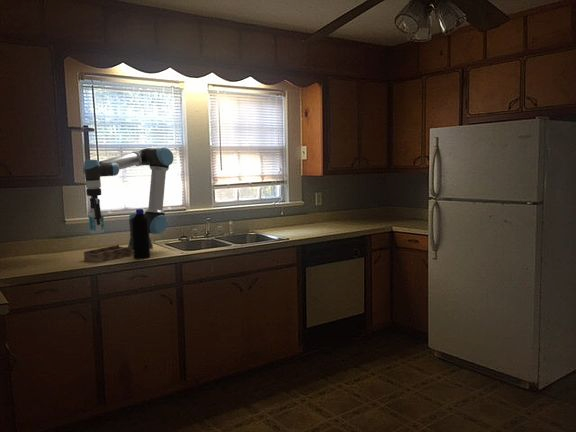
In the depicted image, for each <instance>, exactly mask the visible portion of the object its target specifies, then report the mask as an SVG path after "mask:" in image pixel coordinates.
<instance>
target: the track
mask: <svg viewBox="0 0 576 432" xmlns="http://www.w3.org/2000/svg"><path fill="white" fill-rule="evenodd" d="M130 256H134V250H133V246H130V247H128V246H126V247H125V246H120V245H119V244H116V245H115V244H114V245H110V246H104V247H100V248H96V249H90V250H86V251H83V259H84V261H88V262H96V263H103V261H104V262H108V261H111V260H116V259H121V258H124V257H130Z"/></svg>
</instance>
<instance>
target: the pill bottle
mask: <svg viewBox="0 0 576 432" xmlns="http://www.w3.org/2000/svg"><path fill="white" fill-rule="evenodd" d="M91 211H92V212H91ZM94 218H95V212H94V208H92V209H91V208H90V213H88V222H89V231H90V234H92V235H93V234H96V235H97V234H103V233H104V232H105V221H104V219H105V218H104V213H103V212H101V218H100V219H101V231H96V225H95V219H94Z"/></svg>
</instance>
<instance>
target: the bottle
mask: <svg viewBox="0 0 576 432" xmlns="http://www.w3.org/2000/svg"><path fill="white" fill-rule="evenodd" d="M144 212H145V211H144V209H143V208H137V209H135V213H137V214H136V216H135V217H134V218H133V219H132V228H133V247H134V250H133V258H134V259H136V260H142V259H143V260H144V259H149V258H150V257H151V252H150V251H151V250H150V247H149V236H150V233H149V227H148V218H147V217H146V216H145V215H144V214H143V213H144Z"/></svg>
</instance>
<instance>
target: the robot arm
mask: <svg viewBox="0 0 576 432" xmlns="http://www.w3.org/2000/svg"><path fill="white" fill-rule="evenodd" d="M173 163H174V154H173V151H172V150H171V149H170V148H169V147H167V146H161V145H160V146H148V147H144V148H141V149H138V150H134V151H132V152H131V153H129V154H124V155H119V156H116V157H111V158H107V159H103V160H98V159H85V160H84V162H83V164H84V165H83V168H82V171H83V173H84V177H85V178H84V179H85V182H84V185H85V188H86V190H85V191H86V196H88V197H90V198H89V205H90V213H91V212H92V211H91V209H92V208H94V212H95V218H94V219H95V225H96V231H101V219H100V218H101V204H100V202H101V200H100V199H99V196H102V188H101V187H102V184H101V177H102V178H103V177H115V176H117V175H118V174H119V173H120V170H124V169H126V168H130V167H134V166H135V167H140V166H149V170H151V176H150V185H149V197H148V208H147V209H146V210H145V211H144V213H143V214H144V215H145V216H146V217H147V218H148V227H149V234H151V235H152V234H153V235H161V234H163V233H164V232H165V231H166V230H167V228H168V225H169V220H168V218H167V217H166V215H165V214H166V213H165V211H164V210H163V208H164V197H165V186H166V174H167V172H168V170H169V168H170V166H171V165H172V164H173ZM136 214H137V213H136V212H135V213H130V214H129V217H128V222H129V223H128V224H129V241H128V244H127V247H130V246H133V228H132V219H133V218H134V217H135V216H136ZM153 244H154V243H152V239H151V237H150V235H149V247H150V249H151V250H152V249H153V247H154V246H153ZM133 251H134V247H133Z"/></svg>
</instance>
